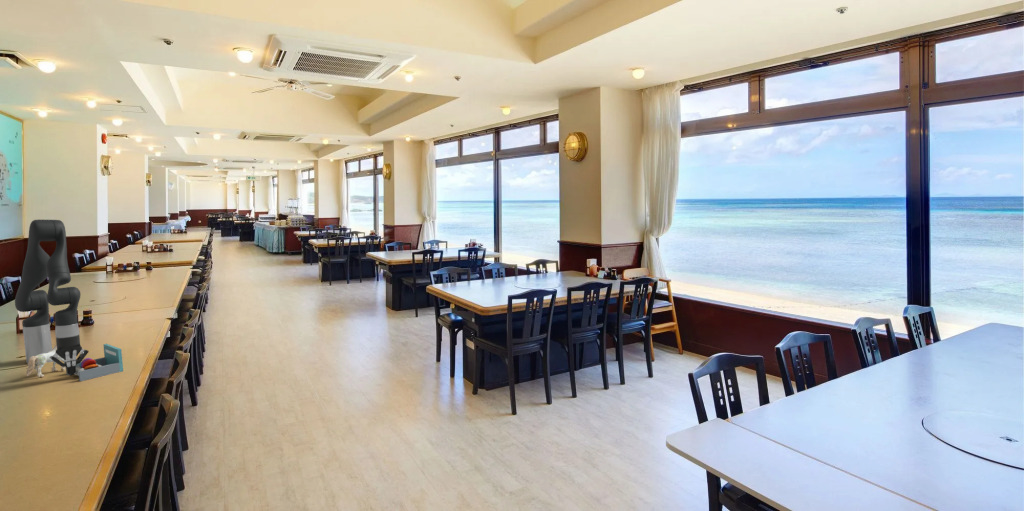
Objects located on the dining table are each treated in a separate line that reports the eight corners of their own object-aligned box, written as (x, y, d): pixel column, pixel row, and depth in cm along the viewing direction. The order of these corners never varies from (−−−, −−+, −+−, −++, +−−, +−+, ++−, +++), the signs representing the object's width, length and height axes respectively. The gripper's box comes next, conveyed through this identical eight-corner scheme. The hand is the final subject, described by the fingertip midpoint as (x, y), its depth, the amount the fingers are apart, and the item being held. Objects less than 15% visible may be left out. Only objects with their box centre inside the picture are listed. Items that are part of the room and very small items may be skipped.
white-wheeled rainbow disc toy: (81, 379, 216) (79, 363, 216) (72, 375, 222) (70, 359, 221) (105, 373, 224) (104, 357, 223) (96, 370, 229) (95, 354, 228)
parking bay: (66, 374, 222) (64, 352, 221) (108, 364, 235) (106, 343, 234) (80, 381, 214) (78, 358, 213) (123, 371, 227) (121, 349, 226)
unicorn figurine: (78, 365, 235) (75, 336, 233) (43, 380, 216) (39, 349, 214) (62, 365, 234) (59, 337, 233) (24, 380, 215) (21, 349, 214)
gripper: (83, 330, 223) (87, 368, 225) (44, 336, 212) (48, 377, 214) (90, 332, 219) (94, 372, 221) (50, 339, 208) (54, 381, 210)
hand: (71, 374), depth 218 cm, fingers closed
